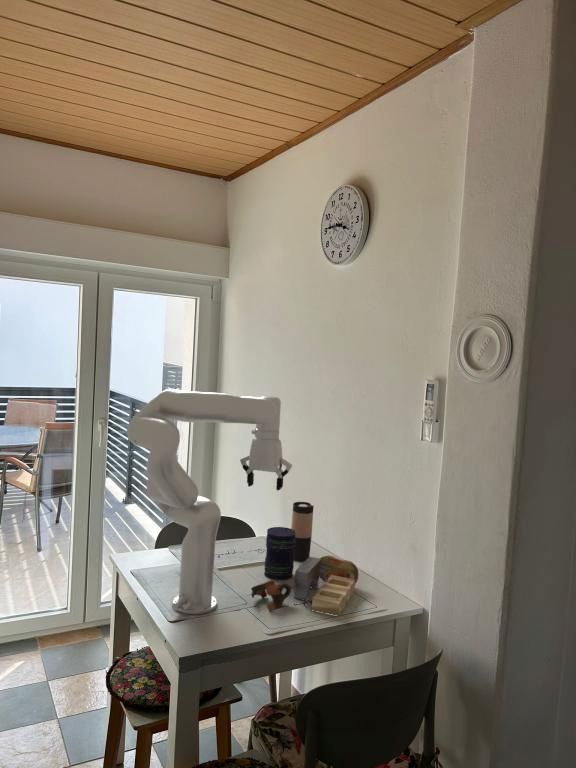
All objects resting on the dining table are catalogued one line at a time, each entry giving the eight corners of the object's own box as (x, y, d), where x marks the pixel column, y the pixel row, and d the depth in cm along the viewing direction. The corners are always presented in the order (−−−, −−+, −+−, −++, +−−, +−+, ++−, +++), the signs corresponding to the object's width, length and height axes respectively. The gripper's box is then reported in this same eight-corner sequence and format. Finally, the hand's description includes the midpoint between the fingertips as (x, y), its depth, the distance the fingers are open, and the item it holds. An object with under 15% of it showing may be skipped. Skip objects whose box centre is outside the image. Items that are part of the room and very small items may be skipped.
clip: (305, 602, 178) (307, 573, 177) (293, 599, 179) (295, 570, 178) (319, 585, 191) (321, 558, 190) (307, 583, 192) (309, 556, 192)
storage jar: (282, 583, 191) (285, 538, 190) (257, 575, 196) (260, 531, 195) (298, 574, 199) (301, 531, 198) (275, 567, 204) (277, 525, 204)
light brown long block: (338, 617, 169) (339, 603, 169) (311, 611, 172) (312, 597, 171) (354, 592, 188) (355, 579, 187) (330, 587, 190) (331, 574, 190)
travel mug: (286, 559, 213) (290, 505, 211) (292, 553, 220) (296, 500, 219) (306, 563, 210) (310, 508, 209) (312, 556, 218) (316, 503, 217)
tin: (315, 578, 197) (316, 553, 197) (320, 575, 200) (321, 551, 199) (354, 591, 188) (356, 565, 188) (358, 588, 191) (360, 563, 191)
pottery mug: (261, 616, 167) (252, 587, 170) (253, 616, 176) (245, 589, 178) (298, 601, 172) (289, 573, 174) (290, 602, 180) (281, 576, 182)
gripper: (237, 433, 186) (235, 486, 188) (289, 439, 181) (286, 493, 183) (246, 430, 193) (243, 481, 195) (296, 436, 188) (293, 488, 190)
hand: (264, 487), depth 189 cm, fingers open, 9 cm apart
